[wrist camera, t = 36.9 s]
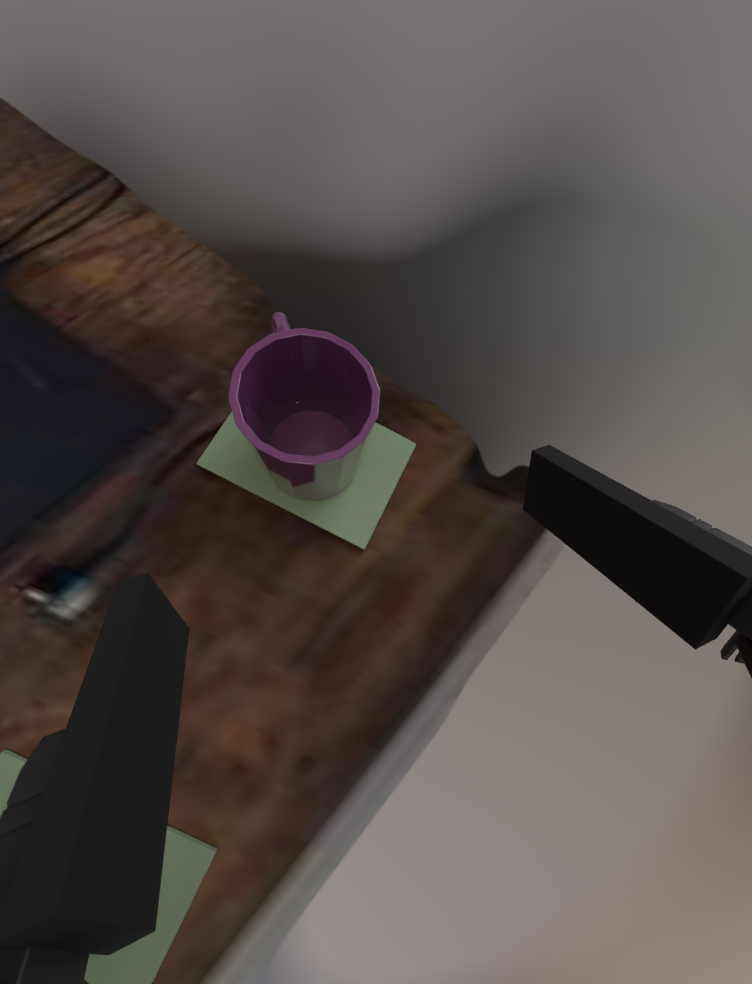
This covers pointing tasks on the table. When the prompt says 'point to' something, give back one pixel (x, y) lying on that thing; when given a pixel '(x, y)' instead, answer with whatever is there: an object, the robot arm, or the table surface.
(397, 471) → the mug mat
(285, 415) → the plum mug
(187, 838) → the cup mat
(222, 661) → the table surface
